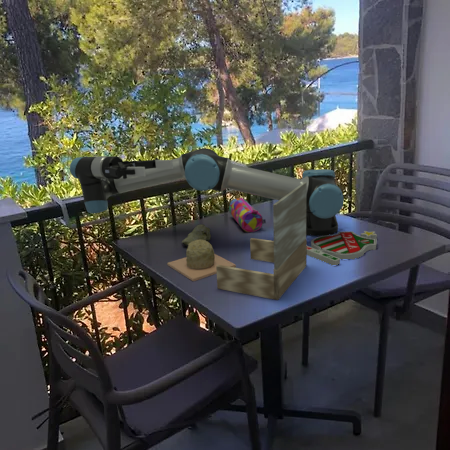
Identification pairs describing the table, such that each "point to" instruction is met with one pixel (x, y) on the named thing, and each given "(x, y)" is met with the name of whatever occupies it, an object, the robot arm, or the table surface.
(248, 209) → the pencil case
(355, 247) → the decorative emblem
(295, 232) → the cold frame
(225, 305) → the table surface
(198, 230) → the rock
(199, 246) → the olive rounded lump
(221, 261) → the terracotta tile
